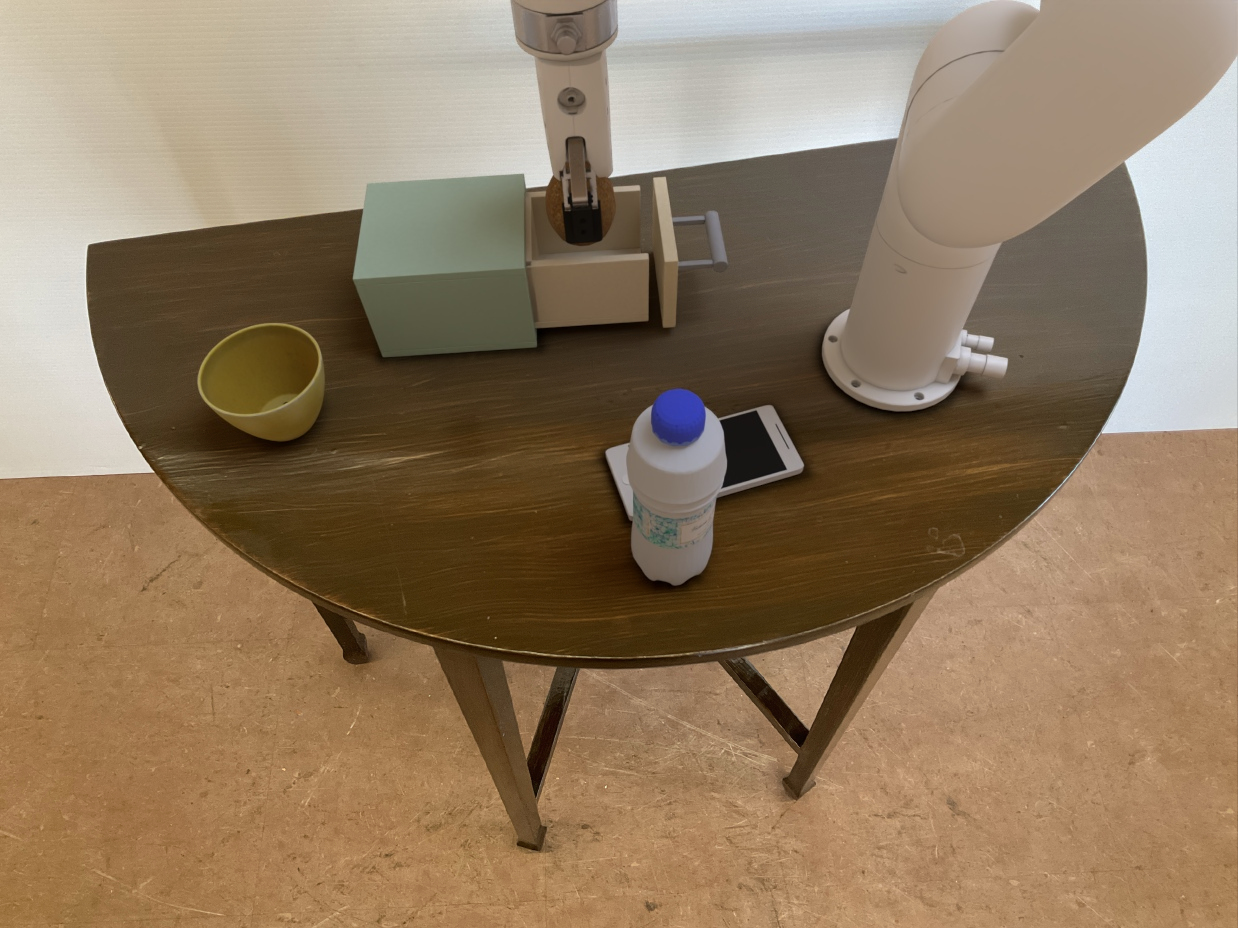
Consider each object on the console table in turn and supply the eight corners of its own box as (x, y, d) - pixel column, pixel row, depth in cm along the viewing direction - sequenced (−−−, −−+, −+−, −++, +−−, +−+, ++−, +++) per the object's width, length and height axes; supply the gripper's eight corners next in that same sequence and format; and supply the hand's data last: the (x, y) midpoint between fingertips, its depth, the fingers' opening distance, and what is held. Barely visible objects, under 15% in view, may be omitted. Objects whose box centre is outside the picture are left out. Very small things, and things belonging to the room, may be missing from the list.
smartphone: (604, 454, 74) (604, 448, 73) (770, 409, 76) (771, 402, 75) (630, 523, 70) (630, 517, 69) (803, 473, 72) (805, 466, 71)
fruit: (578, 273, 76) (571, 200, 69) (536, 238, 79) (525, 164, 72) (631, 241, 78) (629, 167, 71) (588, 207, 81) (582, 133, 74)
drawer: (711, 241, 87) (717, 173, 80) (727, 323, 81) (734, 257, 74) (531, 253, 87) (522, 185, 80) (532, 336, 81) (522, 271, 74)
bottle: (681, 610, 66) (694, 466, 49) (611, 564, 68) (602, 411, 51) (729, 548, 69) (756, 392, 52) (661, 506, 71) (666, 343, 54)
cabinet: (535, 255, 88) (524, 173, 80) (537, 347, 81) (524, 268, 73) (393, 264, 88) (366, 183, 79) (382, 357, 81) (352, 279, 72)
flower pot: (367, 417, 77) (344, 365, 71) (271, 486, 73) (238, 437, 67) (305, 358, 81) (278, 305, 75) (210, 420, 77) (174, 369, 71)
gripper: (626, 78, 56) (632, 279, 71) (610, -50, 66) (618, 151, 81) (512, 86, 56) (542, 286, 71) (513, -43, 66) (539, 157, 81)
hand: (582, 212), depth 76 cm, fingers closed on fruit, 6 cm apart
